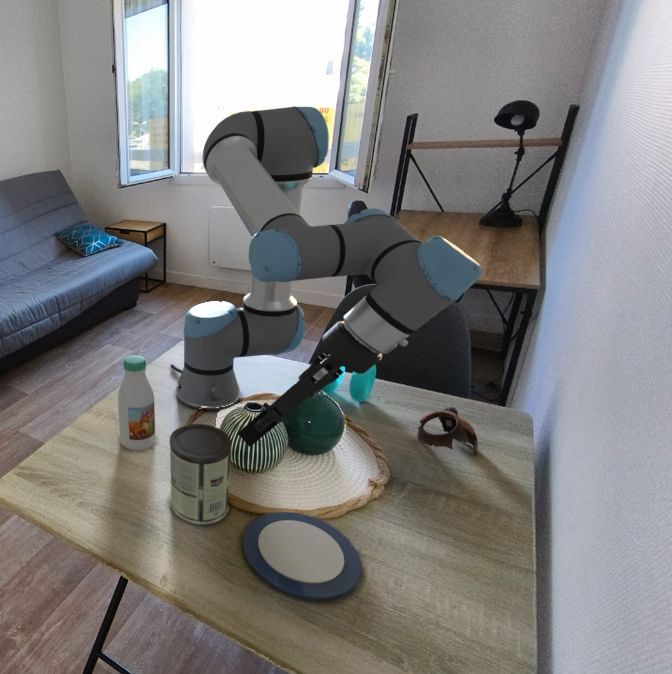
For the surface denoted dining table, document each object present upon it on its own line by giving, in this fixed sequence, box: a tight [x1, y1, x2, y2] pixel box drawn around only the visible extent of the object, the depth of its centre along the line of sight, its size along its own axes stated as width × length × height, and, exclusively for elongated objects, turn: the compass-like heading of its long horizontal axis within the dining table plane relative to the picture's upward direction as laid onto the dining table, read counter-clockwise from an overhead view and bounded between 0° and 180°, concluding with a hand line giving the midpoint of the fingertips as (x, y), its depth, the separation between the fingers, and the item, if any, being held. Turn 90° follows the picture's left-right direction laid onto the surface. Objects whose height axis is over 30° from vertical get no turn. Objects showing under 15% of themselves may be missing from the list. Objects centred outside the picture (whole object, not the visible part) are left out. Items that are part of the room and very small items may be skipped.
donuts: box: [321, 354, 377, 403], centre depth 119 cm, size 10×10×10 cm
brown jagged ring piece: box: [416, 406, 479, 456], centre depth 101 cm, size 12×10×8 cm
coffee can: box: [169, 423, 233, 526], centre depth 89 cm, size 10×10×14 cm
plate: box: [242, 511, 362, 602], centre depth 80 cm, size 17×17×1 cm
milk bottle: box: [117, 355, 156, 451], centre depth 107 cm, size 8×8×20 cm
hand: (259, 426), depth 82 cm, fingers open, 13 cm apart
